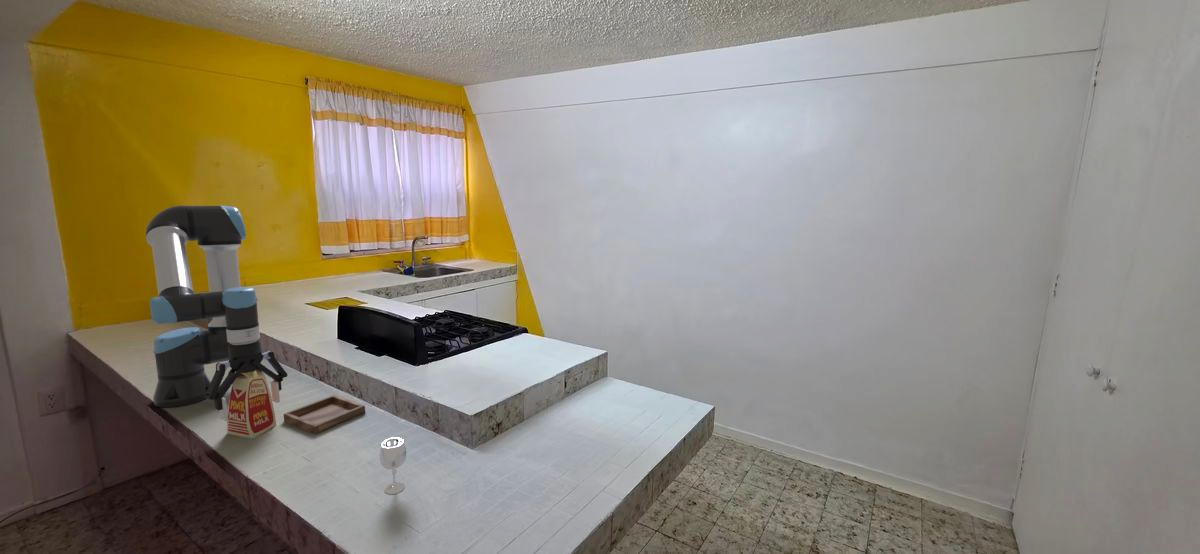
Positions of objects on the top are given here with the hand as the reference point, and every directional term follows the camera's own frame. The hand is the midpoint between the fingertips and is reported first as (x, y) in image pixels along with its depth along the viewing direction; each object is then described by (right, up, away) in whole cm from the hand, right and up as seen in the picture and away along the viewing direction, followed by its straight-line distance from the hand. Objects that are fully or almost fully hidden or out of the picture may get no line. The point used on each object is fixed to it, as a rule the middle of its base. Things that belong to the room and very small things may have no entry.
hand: (251, 410), depth 135 cm
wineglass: (+54, -12, -25) cm, 60 cm away
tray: (+16, -5, +9) cm, 19 cm away
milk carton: (0, -6, +1) cm, 6 cm away
